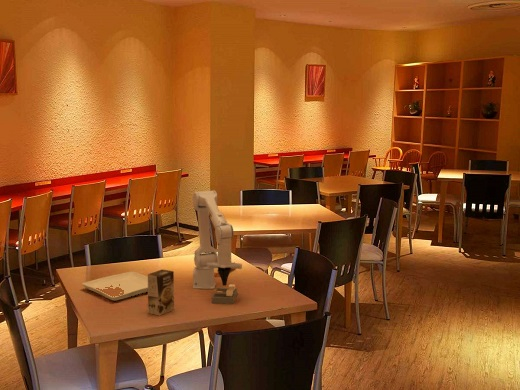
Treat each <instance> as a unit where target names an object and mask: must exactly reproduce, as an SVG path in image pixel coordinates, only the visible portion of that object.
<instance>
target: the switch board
mask: <svg viewBox="0 0 520 390" xmlns="http://www.w3.org/2000/svg"><path fill="white" fill-rule="evenodd" d="M227 289H229V287H217V288H216V289H215V291H214V293H213V294H212V297H211V304H222V305H223V304H227V305H228V304H229V305H231V304H232V305H233V304H234V303H235V301H236V299H237V295H238V288H237V287H235V290H234V291H233V295H232V296H226V291H227Z"/></svg>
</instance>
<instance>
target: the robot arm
mask: <svg viewBox="0 0 520 390" xmlns="http://www.w3.org/2000/svg"><path fill="white" fill-rule="evenodd" d="M218 200H219V199H218V193H217V191H216V190H215V189H213V190H203V191H197V190H196V191H194V193H193V195H192V203H193V209H194V210H195V211H197V212H196V213H197V222H198V223H197V224H198V235H199V236H198V238H199V247H197V249H195V251H194V257H193V261H194V265H195V267H193V271H192V272H193V273H192V282H193V283H192V288H193V289H203V290H204V289H205V290H206V289H208V290H213V289H215V287H216V285H217V282H215V277H214V268H218V273H219V275H220V277H219V278H220V279H221V282H222V286H223V287H224V286H225V287H226V286H227V285H228V284H227V282H228V279H229V275H230V273H231V272H230V270H231V268H232V269H234V270H235V269H237V270H238V269H239V270H242V269H243V264H242V263H238V262H237V263H236V262H232V239H233V238H234V232H235V231H234V227H233V225H232V224H231V223H229V222H228V221H227V219H226V217H225V215H224V214H223V213H222V212H220V210H219V207H218ZM209 214H210V215H211V218H210V217H209ZM210 220H211V223H212V225H213V228H214V229H215V230H214V232H215V233H214V234H215V235H214V236H215V239H216V240H215V241H216V243H217V249H216V248H215V247H213V246H212V245H211V244H212V243H211V232H210V231H211V230H210Z"/></svg>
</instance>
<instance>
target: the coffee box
mask: <svg viewBox="0 0 520 390" xmlns="http://www.w3.org/2000/svg"><path fill="white" fill-rule="evenodd" d="M174 272H175V271H174V270H169V269H160V270H157V271H153V272H150V273H147V276H148V292H147V302H148V304H147V308H148V309H147V311H148V314H152V315H155V316H159V317H160V316H162V315H164V314H167V313H169V312H171V311H174V310H175V279H174V278H175V276H174V275H175V274H174Z"/></svg>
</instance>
